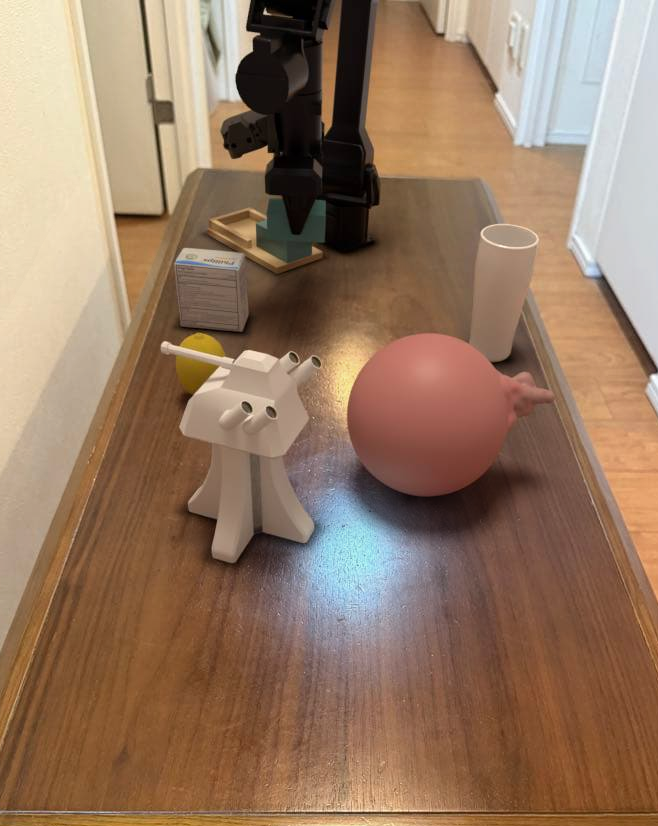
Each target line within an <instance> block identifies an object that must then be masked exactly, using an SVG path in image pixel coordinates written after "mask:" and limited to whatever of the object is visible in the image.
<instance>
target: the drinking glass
mask: <svg viewBox="0 0 658 826" xmlns="http://www.w3.org/2000/svg"><path fill="white" fill-rule="evenodd" d="M539 243H540V238H539V236H538V235H537V234H536V232H534V231H533V230H531V229H530V228H527V227H524V226H521V225H518V224H517V225H516V224H510V223H496V224H495V223H494V224H491V225H487V226H486V227H484V228H482V230H481V231H480V234H479V239H478V243H477V247H476V254H475V262H474V269H473V283H472V284H473V285H472V300H471V301H472V302H471V314H470V315H471V316H470V329H469V338H468V344H470V345H471V346H473V347H474V348H476V349H477V350H478V351H480V352H481V353H482V354H483V355H484V356H485V357H486V358H487V359H488V360H489V361H490V362H491V363H498V362H502V361H504V360H507V359H508V358H509V357H510V355H511V353H512V350H513V349H512V348H513V345H514V339H515V336H516V333H517V329H518V326H519V323H520V319H521V315H522V312H523V309H524V305H525V302H526V298H527V296H528V293H529V288H530V285H531V281H532V278H533V275H534V270H535V266H536V261H537V255H538V248H539Z"/></svg>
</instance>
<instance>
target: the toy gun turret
mask: <svg viewBox="0 0 658 826" xmlns="http://www.w3.org/2000/svg"><path fill="white" fill-rule="evenodd" d="M160 352H161V354H163V355H170V354H171V355H175V356H176V355H178V356H182V357H186V358H190V359H194V360H198V361H202V362H206V363H210V364H214V365H218V366H220V367H219V368H218V369H217V370H216V371H215V372H214V373H213V374H212V375H211V376H210V377H209V379H208V380H207V381H206V382H205V383H204V384H203V385H202V386H201V387H200V389H199V390H198V391H197V392H196V393H195V394H194V395H192V396H191V397H190V398H189V399H188V401H187V404H186V406H185V409H184V412H183V415H182V417H181V421H180V423H179V426H178V428H179V430H180V432H181V433H182V435H183V436H185V437H187V438H189V439H193V440H197V441H200V442H204V443H207V444H211V447H212V448H211V461H210V466H209V468H208V471H207V475H206V477H205V479H204V481H203V483H202V484H201V486H199V487H198V488H197V490H196V491H195V492H194V494H193V495H192V496H191V497H190V499H188V501H187V508H188V509H187V510H188V511H189V513H192V514H196V515H200V516H203V517H207V518H211V519H214V520H216V525H215V529H214V530H215V531H214V536H213V540H212V544H211V556H212V558H213V559H215V560H219V561H223V562H226V563H228V564H234V563H235V564H236V562H237V561H238V559H239V558H240V556H241V555H242V553H243V552H244V550H245V549H246V547H247V545H248V544H249V542H251V540H252V538H253V536H254V535H257V534H260V533H264V534H269V535H272V536H275V537H279V538H283V539H286V540H290V541H293V542H297V543H301V544H306V543H308V542H309V540H310V538H311V536H312V535H313V533H314V531H315V523H314V519H312V518H311V516H310V515H309V514H308V512H307V511H306V509H305V508H304V506H303V505H302V503H301V501H300V500H299V498H298V496H297V494H296V492H295V490H294V488H293V486H292V483H291V481H290V478H289V476H288V473H287V471H286V468H285V463H284V462H285V461H284V457H283V456H284V455H286V454H287V452H288V451H289V449H290V448H291V446H292V444H293V443H294V442H295V441H296V439H297V438H298V437H299V434H300V433H301V432H302V430H303V429H304V428H305V426H306V425H307V423H308V422H309V420H310V417H309V414H308V412H307V410H306V408H305V406H304V403H303V401H302V400H301V398H300V395H299V392H298V387H299V386H300V385H301V384H302V383H303V382H305V381H306V380H307V379H308V378H310V377H311V376H312V375H313V374H315V373H316V372H318V371H319V370H320V369H322V367H323V364H322V360H321V359H320V357H319V356H317V355H314V354H313V355H311V356H310V357H309V358H307V359H306V360H305V361H303V362H302V363H301V364H300V357H299V355H298V354H297V353H296V352H295V351H292V350H291V351H289V352H287V353H286V354H284V356H282V357H281V358H280V359H279V358H277V357H276V356H273V355H271V354H268V353H264V352H260V351H255V350H252V349H247V350H244V351H242V352H241V354H240V355H237V356H236V357H235V358H232V357H227V356H226V357H223V358H222V357H218V356H214V355H210V354H206V353H202V352H198V351H194V350H190V349H186V348H182V347H179V345H174V344H172V343H171V342H169V341H167V340H166V341H165V340H164V341H163V342H162V343H161V344H160ZM299 364H300V365H299ZM296 366H297V367H296ZM295 367H296V368H295ZM294 368H295V369H294ZM291 370H292V371H291ZM290 371H291V372H290ZM289 372H290V373H289ZM288 373H289V374H288Z"/></svg>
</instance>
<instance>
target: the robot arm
mask: <svg viewBox="0 0 658 826" xmlns="http://www.w3.org/2000/svg"><path fill="white" fill-rule="evenodd" d="M336 1H337V0H250V1H249V5H248V6H249V7H248V13H247V17H246V23H245V24H246V25H245V31H246V32H248V33H255V34H257V35H255V36H254V37H253V38H252V51H250V52H249V53H247V54H246V55H244V57H243V58H242V59H241V60H240V62H239V63H238V66H237V69H236V73H235V75H234V81H235V88H236V90H237V94H238V96H239V98H240V100H242V102H243V104H244V105H245V106H246V107H247V108H248V109H250V110H247V111H244V112H241V113H238V114H236V115H232V116H230V117H227V118H226V119H224V120H223V122H222V124H221V127H220V130H219V131H220V134H221V137H222V139H223V145H222V147H223V149H224V150H226V151H227V152H228V154H229V157H230V159H232V160H238V159H241V158H242V157H243V156H244V155H246V154H249V153H253V152H255V151H258V150H262V149H264V148H265V147H267V154H272V158H271V160H269V161H268V162H267V164H266V167H265V172H264V193H265V194H266V195H269V196H279V197H280V196H281V199H283V201H284V205H285V209H286V213H287V217H288V221H289V225H290V229H291V233H292V234H293V235H300V234H301V232H302V230H303V228H304V225H305V223H306V221H307V218H308V216H309V213H310V211H311V209H312V207H313V204H314V202H315V200H325V201H326V215H325V242H324V244H326V245H329V246H331V247H332V248H335V249H337V250H339V251H340V252H342V253H347V252H350V251H353V250H356V249H359V248H362V247H365V246H367V245H370V244H373V243H375V241H376V238H375V237H373V236H372V235H369V233H368V232H369V218H370V217H369V216H370V210H371V209H372V208H373V207H377V206H379V205H380V203H381V185H382V184H381V183H382V182H381V180H380V176H379V173H378V169H377V166H376V164H375V163H374V161H375V160H374V159H375V147H374V146H373V143H372V141H371V139H370V138H371V137H370V136H369V133H368V131H367V129H366V123H367V110H368V104H369V103H368V102H369V92H370V82H371V71H372V61H373V51H374V41H375V31H376V20H377V11H378V3H379V2H380V0H341V2H340V3H341V4H340V16H339V26H338V27H339V28H338V29H339V30H338V40H337V41H338V42H337V52H336V53H337V54H336V67H335V80H334V89H333V90H334V92H333V93H334V94H333V105H332V115H331V116H332V117H331V126H330V127H329V129H328V131H327V132H326V131H325V129H326V128H325V127H326V125H325V123H324V121H323V120H322V119H323V60H324V59H323V56H324V55H323V51H324V50H323V48H324V41H323V36H324V33H325V31H329V28H330V24H331V21H332V17H333V13H334V9H335V5H336ZM265 12H266V14H265ZM325 132H326V134H325Z"/></svg>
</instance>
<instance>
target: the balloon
mask: <svg viewBox="0 0 658 826" xmlns="http://www.w3.org/2000/svg"><path fill="white" fill-rule="evenodd" d="M554 401H556V395H555V393H554V392H553V391H551V390H549V389H545V388H541V387H537V385H536V384H535V381H534V378H533V376H532V374H531V373H530V372H528V371H521V372H519V373H517V374H516V375H514V376H512V377H510V376H508V375H506V374H503V373H501V372H500V371H499V370H498V369H496V367H495V366H494V365H493V364H492V362H490V361H489V360H488V359H487V358H486V357H485V356H484V355H483V354H482V353H481V352H480V351H478V350H477V349H476V348H474V347H473V346H471V345H470V344H469V342H466V341H464V340H462V339H459V338H457V337H454V336H451V335H447V334H442V333H435V332H434V333H431V332H424V333H416V334H411V335H407V336H404V337H400V338H398V339H396V340H394V341H392V342H389V343H388V344H386V345H384V346H383V347H381V348H380V349H379V350H377V352H375V353H374V354H373V355H372V356H370V358H369V359H368V360H367V361H366V363H365V364H364V365H363V366H362V367H361V369H360V370H359V372H358V373H357V376H356V378H355V379H354V382H353V383H352V386H351V390H350V393H349V397H348V401H347V408H346V422H347V423H346V425H347V430H348V435H349V439H350V442H351V445H352V447H353V451H354V452H355V454H356V455H357V457H358V460H360V462H361V464H362V465H363V466H364V467H365V469H366V471H368V472H369V473H370V474H371V475H372V476H373V477H374V478H375V479H377V480H378V481H379V482H381V484H384V485H385V486H387V487H389V488H390V489H393V490H394V491H397V492H400V493H403V494H405V495H410V496H416V497H438V496H439V497H440V496H445V495H448V494H452V493H455V492H457V491H459V490H462V489H464V488H466V487H468V486H469V485H471V484H472V483H474V482H476V481H477V480H478V479H479V478H480V477H481V476H482V475H484V474H485V473H486V472H487V471H488V470H489V468H491V466H492V465H493V463H494V462H495V461H496V459H497V457H498V456H499V454H500V452H501V450H502V449H503V446H504V443H505V440H506V437H507V434H508V433H509V432H510V431H511V430H512V429H513V428H514V426H515V425H516V424H517V421H518V418H523V417H527V416H529V415H531V414H532V413H533V412H534V409H535V405H538V404H539V405H543V404H552V403H553V402H554Z"/></svg>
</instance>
